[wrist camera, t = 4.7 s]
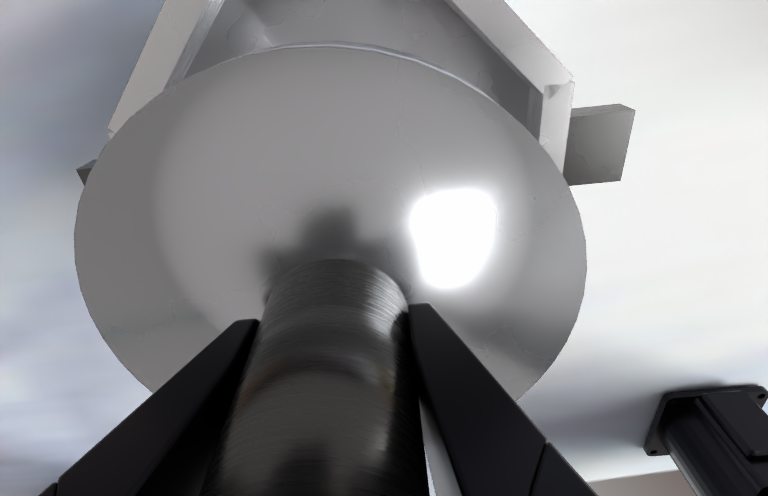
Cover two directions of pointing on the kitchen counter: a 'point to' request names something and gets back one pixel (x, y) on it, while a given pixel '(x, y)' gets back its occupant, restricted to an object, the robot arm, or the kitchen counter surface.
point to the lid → (327, 253)
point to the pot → (403, 33)
